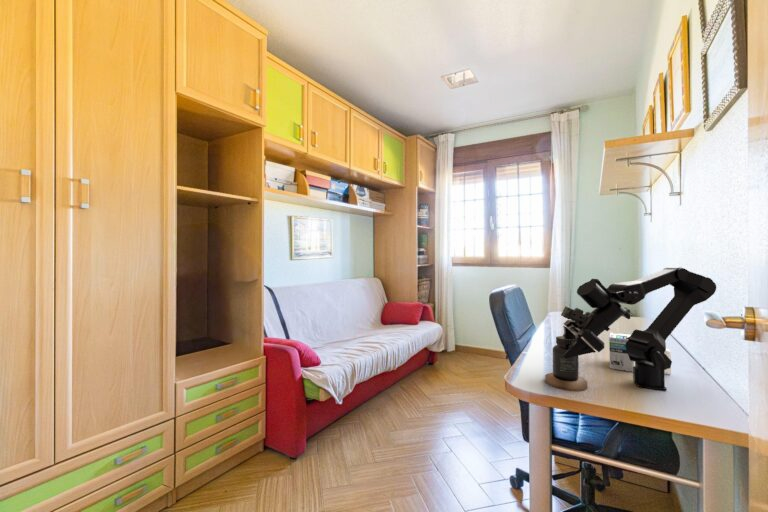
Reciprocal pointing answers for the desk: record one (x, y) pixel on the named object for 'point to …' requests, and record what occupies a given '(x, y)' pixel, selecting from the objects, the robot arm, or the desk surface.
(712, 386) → the desk surface
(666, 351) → the eye dropper bottle
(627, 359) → the light bulb box
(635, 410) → the desk surface
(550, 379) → the walnut coaster
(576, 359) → the supplement bottle
